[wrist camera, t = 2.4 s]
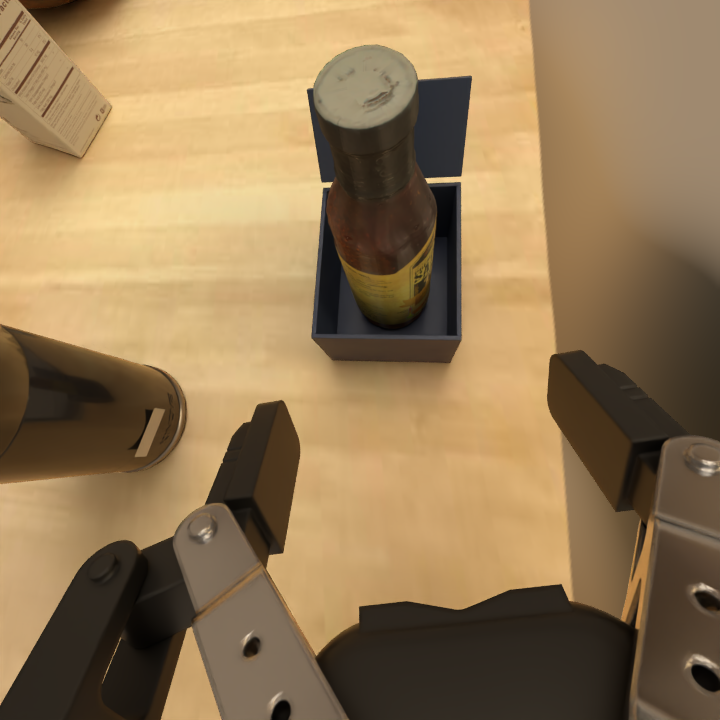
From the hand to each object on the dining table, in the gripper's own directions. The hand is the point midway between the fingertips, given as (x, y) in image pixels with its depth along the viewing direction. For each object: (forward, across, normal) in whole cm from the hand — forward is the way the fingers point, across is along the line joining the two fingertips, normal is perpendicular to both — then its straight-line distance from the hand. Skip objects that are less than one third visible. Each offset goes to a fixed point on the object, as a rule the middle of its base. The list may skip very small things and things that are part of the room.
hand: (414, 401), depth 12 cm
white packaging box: (+41, +32, -14) cm, 54 cm away
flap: (+20, -2, -6) cm, 21 cm away
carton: (+22, 0, +6) cm, 23 cm away
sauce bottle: (+22, 0, +6) cm, 23 cm away
